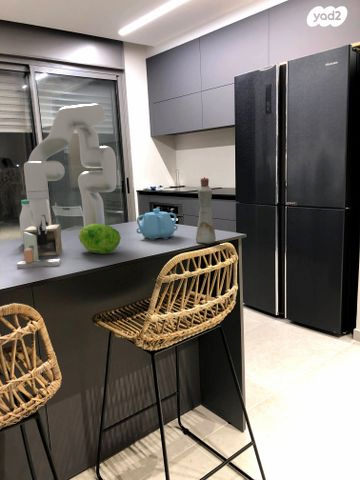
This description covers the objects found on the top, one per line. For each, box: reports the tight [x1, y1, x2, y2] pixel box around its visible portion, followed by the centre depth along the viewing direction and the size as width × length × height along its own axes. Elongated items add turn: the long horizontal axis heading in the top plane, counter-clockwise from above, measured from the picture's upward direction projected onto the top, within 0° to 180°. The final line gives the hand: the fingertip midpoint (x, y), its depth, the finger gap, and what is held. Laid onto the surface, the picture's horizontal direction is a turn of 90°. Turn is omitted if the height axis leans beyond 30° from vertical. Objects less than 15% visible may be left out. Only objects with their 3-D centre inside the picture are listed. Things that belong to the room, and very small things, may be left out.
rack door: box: [23, 231, 40, 260], centre depth 147 cm, size 12×2×10 cm, turn 39°
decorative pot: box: [136, 208, 179, 241], centre depth 182 cm, size 16×16×14 cm
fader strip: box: [16, 258, 61, 269], centre depth 139 cm, size 14×4×2 cm, turn 99°
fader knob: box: [23, 248, 34, 263], centre depth 138 cm, size 2×3×5 cm
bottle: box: [195, 176, 217, 245], centre depth 166 cm, size 9×9×28 cm
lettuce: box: [78, 224, 122, 255], centre depth 154 cm, size 13×23×12 cm, turn 44°
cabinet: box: [24, 224, 63, 257], centre depth 158 cm, size 12×10×10 cm
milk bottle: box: [19, 199, 32, 245], centre depth 177 cm, size 8×8×20 cm
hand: (42, 244), depth 146 cm, fingers closed
